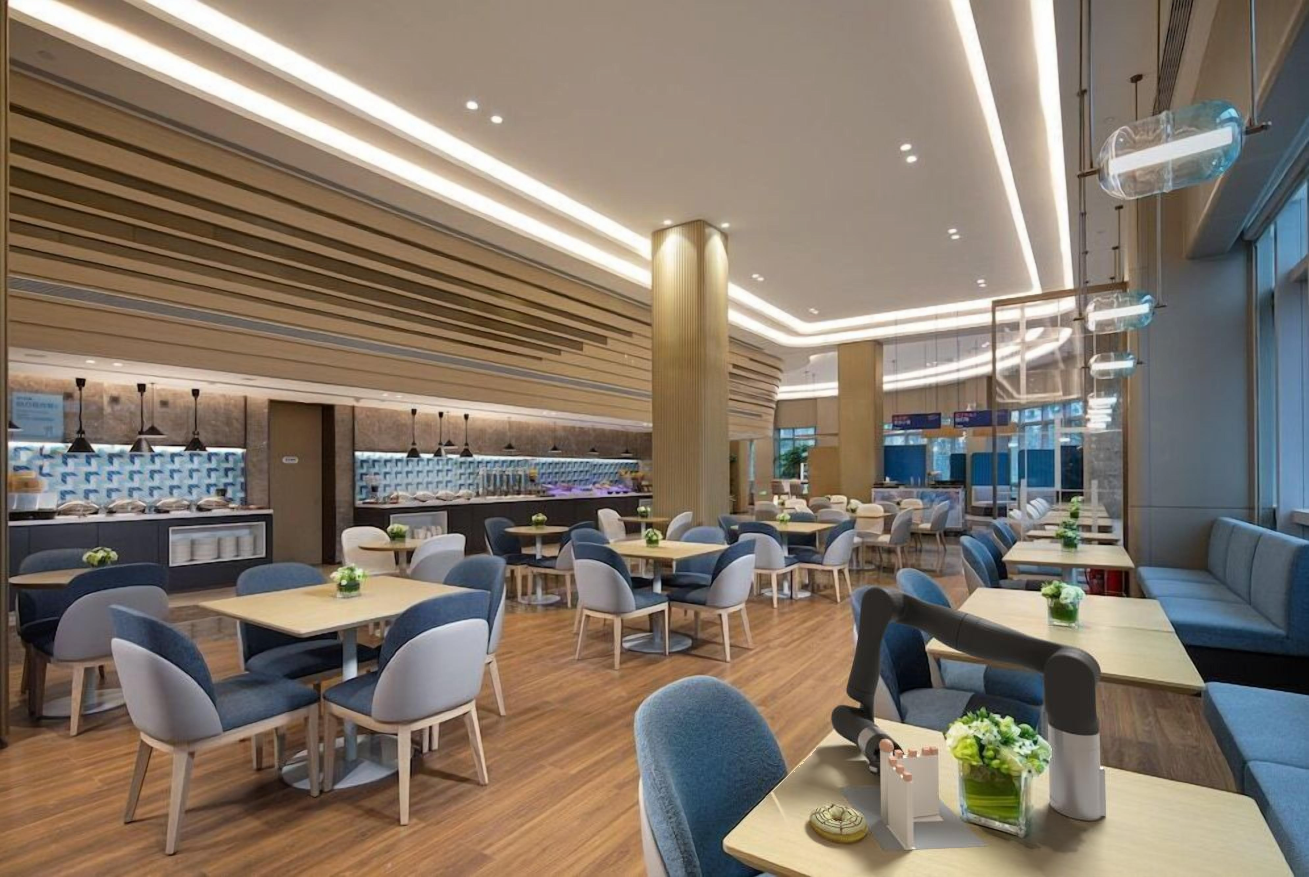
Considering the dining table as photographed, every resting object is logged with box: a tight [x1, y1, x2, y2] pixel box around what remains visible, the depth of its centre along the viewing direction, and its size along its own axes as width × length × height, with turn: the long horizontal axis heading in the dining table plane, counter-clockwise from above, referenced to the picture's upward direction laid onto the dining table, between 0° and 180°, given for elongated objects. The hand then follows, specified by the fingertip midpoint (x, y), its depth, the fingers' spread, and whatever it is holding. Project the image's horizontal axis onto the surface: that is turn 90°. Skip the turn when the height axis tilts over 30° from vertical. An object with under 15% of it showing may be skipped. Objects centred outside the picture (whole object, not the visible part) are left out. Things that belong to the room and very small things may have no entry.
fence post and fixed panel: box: [879, 739, 914, 848], centre depth 128 cm, size 3×11×16 cm, turn 5°
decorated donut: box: [809, 803, 868, 844], centre depth 129 cm, size 10×11×4 cm
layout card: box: [838, 784, 987, 852], centre depth 134 cm, size 20×24×1 cm
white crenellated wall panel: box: [893, 746, 940, 817], centre depth 133 cm, size 10×1×13 cm, turn 102°
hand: (915, 785), depth 134 cm, fingers closed
